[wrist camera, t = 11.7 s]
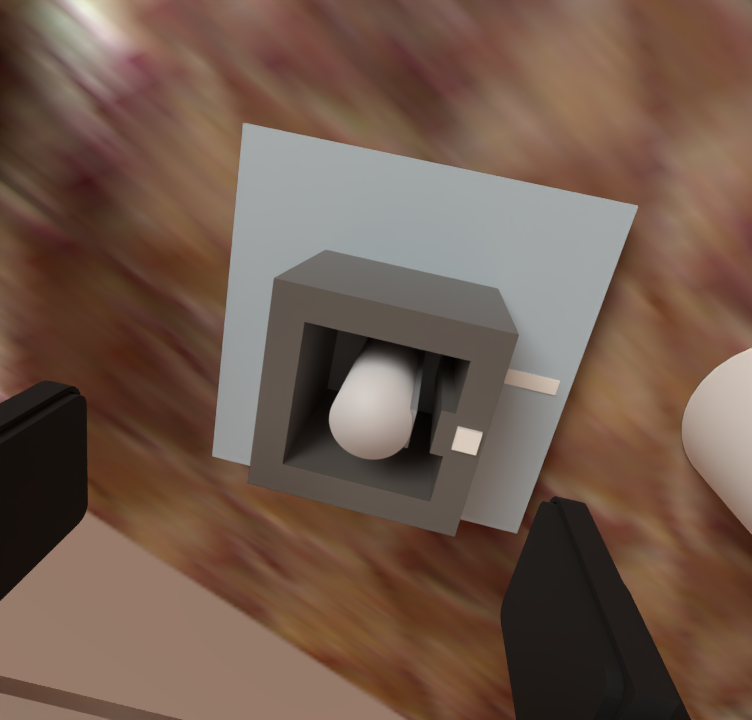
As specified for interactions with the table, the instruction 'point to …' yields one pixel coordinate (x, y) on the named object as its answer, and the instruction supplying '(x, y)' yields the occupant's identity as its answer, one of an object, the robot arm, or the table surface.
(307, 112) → the table surface
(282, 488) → the square tunnel housing
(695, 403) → the cylindrical container
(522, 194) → the shaft base
